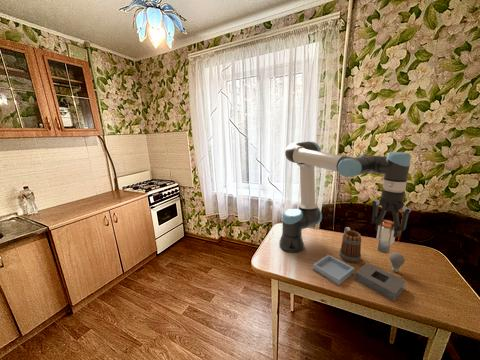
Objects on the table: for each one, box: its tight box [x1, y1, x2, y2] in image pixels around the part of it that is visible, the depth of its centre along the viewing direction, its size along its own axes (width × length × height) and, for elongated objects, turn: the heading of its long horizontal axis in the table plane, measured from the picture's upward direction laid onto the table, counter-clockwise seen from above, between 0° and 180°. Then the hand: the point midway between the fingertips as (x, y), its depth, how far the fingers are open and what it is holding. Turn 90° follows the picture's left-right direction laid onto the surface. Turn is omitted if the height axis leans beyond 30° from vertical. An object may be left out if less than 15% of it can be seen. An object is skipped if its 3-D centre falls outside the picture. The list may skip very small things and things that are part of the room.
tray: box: [312, 254, 355, 286], centre depth 101 cm, size 14×14×3 cm
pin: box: [377, 219, 394, 255], centre depth 87 cm, size 4×4×14 cm
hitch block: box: [354, 262, 407, 302], centre depth 92 cm, size 16×12×4 cm
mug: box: [339, 226, 362, 264], centre depth 113 cm, size 16×11×15 cm
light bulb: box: [389, 252, 406, 273], centre depth 99 cm, size 6×6×10 cm
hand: (385, 240), depth 87 cm, fingers closed on pin, 4 cm apart
